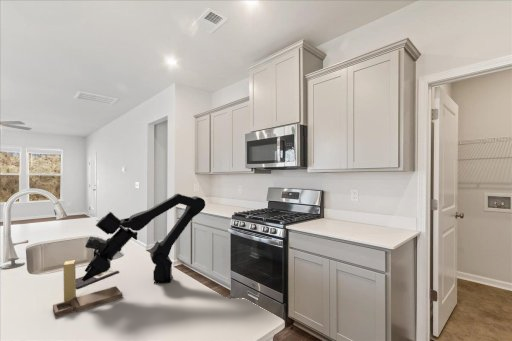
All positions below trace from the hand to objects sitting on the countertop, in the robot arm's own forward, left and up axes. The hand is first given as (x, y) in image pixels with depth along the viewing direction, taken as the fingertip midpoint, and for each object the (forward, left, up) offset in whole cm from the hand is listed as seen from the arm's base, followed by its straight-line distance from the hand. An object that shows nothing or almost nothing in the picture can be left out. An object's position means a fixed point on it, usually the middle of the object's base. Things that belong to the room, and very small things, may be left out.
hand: (84, 275), depth 97 cm
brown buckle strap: (-4, +6, -7) cm, 10 cm away
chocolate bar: (+4, -16, -8) cm, 18 cm away
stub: (+4, +1, -7) cm, 9 cm away
